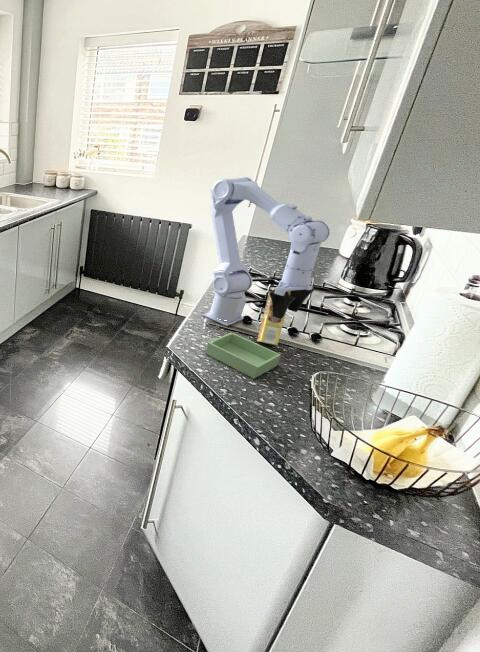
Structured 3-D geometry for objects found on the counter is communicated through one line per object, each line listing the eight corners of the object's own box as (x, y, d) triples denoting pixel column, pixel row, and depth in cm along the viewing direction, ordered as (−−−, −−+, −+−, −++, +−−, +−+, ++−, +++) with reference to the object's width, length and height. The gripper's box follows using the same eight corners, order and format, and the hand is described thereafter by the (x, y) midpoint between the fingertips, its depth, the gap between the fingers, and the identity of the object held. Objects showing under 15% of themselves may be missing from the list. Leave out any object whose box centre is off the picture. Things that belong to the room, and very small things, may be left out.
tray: (228, 342, 122) (231, 332, 121) (277, 365, 112) (281, 354, 110) (204, 353, 117) (208, 342, 116) (253, 378, 107) (258, 367, 105)
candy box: (278, 346, 113) (292, 291, 113) (259, 341, 115) (273, 287, 115) (272, 345, 121) (286, 293, 121) (255, 341, 123) (268, 290, 123)
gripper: (302, 276, 104) (287, 325, 109) (330, 266, 111) (314, 313, 116) (271, 268, 110) (259, 315, 115) (299, 259, 116) (286, 304, 122)
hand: (285, 313), depth 116 cm, fingers open, 7 cm apart
